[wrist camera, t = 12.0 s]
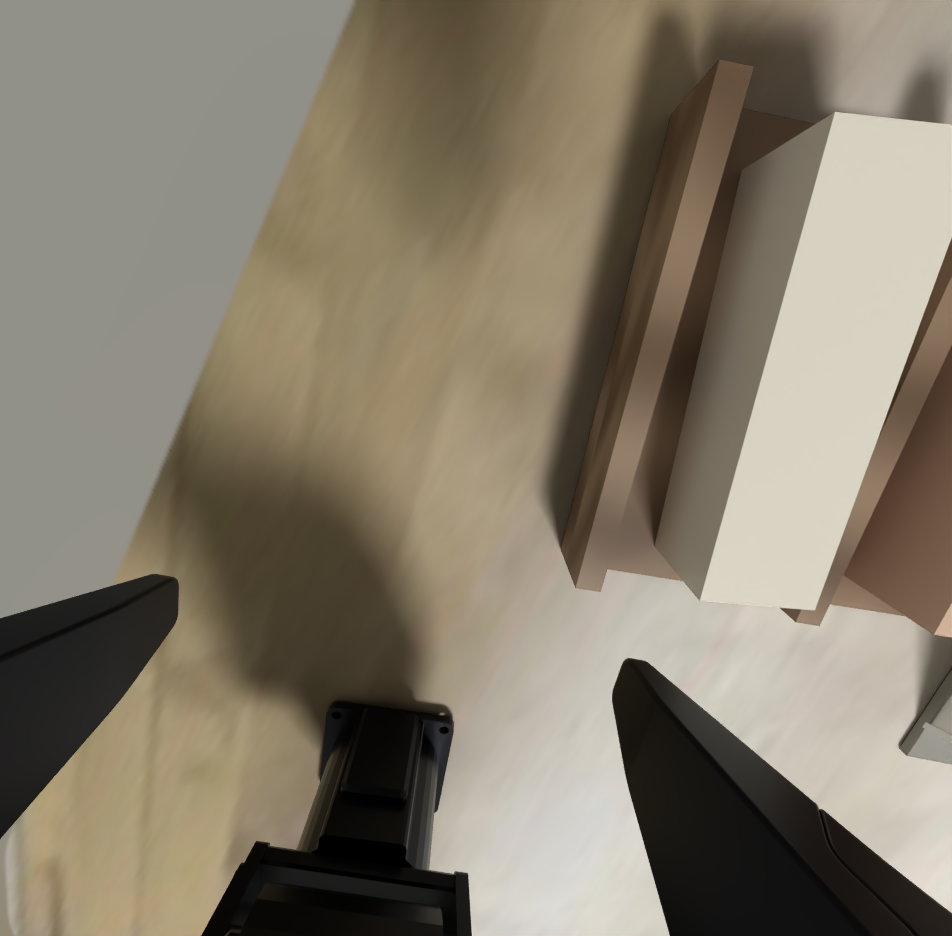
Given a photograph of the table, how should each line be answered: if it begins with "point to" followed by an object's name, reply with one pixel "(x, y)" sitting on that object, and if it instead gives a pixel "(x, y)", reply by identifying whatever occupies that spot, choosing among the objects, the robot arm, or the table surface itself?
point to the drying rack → (679, 341)
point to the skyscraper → (933, 728)
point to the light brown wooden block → (915, 521)
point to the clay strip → (804, 353)
